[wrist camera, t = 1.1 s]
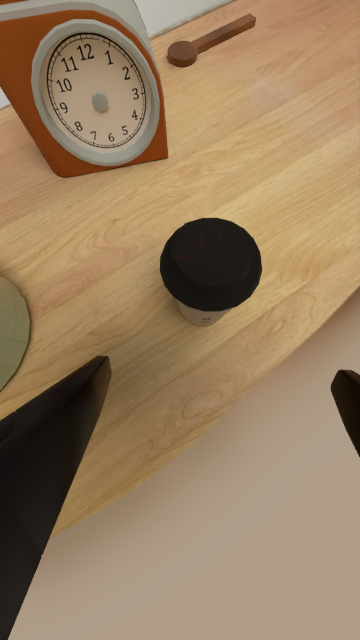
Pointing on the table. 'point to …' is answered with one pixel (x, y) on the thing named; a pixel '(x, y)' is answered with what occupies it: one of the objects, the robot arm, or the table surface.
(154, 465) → the table surface
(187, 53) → the wooden spoon
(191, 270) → the coffee cup
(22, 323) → the sage green pet bowl
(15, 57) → the alarm clock
